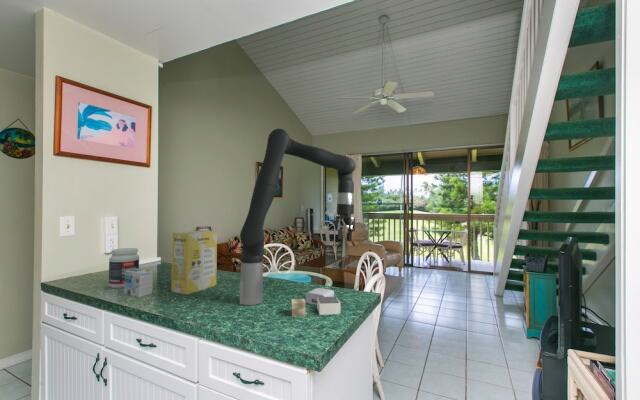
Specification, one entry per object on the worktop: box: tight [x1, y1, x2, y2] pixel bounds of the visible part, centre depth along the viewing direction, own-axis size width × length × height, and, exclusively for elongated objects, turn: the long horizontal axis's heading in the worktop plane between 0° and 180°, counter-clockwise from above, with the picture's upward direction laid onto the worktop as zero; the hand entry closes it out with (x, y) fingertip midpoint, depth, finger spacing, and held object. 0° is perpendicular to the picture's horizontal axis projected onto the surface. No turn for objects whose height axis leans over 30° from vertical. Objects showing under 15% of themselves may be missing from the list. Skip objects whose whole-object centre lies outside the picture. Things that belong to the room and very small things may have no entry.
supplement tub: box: [108, 247, 140, 289], centre depth 151 cm, size 13×13×18 cm
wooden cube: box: [291, 298, 307, 317], centre depth 113 cm, size 5×5×5 cm
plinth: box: [316, 296, 341, 316], centre depth 116 cm, size 8×8×4 cm
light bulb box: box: [123, 268, 154, 298], centre depth 137 cm, size 11×7×11 cm, turn 68°
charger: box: [305, 287, 335, 306], centre depth 130 cm, size 5×9×15 cm
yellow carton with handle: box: [170, 229, 218, 295], centre depth 147 cm, size 18×10×28 cm, turn 155°
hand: (344, 240), depth 130 cm, fingers open, 8 cm apart
